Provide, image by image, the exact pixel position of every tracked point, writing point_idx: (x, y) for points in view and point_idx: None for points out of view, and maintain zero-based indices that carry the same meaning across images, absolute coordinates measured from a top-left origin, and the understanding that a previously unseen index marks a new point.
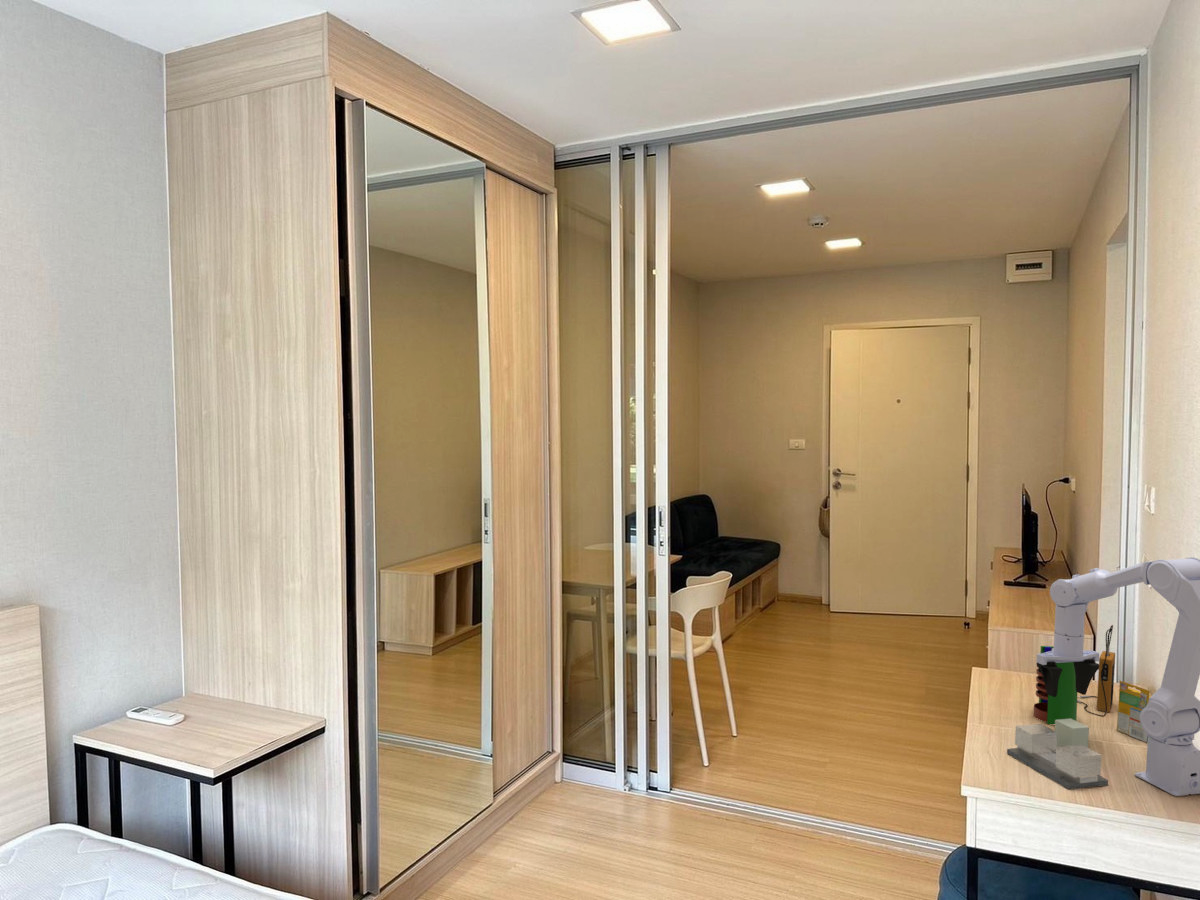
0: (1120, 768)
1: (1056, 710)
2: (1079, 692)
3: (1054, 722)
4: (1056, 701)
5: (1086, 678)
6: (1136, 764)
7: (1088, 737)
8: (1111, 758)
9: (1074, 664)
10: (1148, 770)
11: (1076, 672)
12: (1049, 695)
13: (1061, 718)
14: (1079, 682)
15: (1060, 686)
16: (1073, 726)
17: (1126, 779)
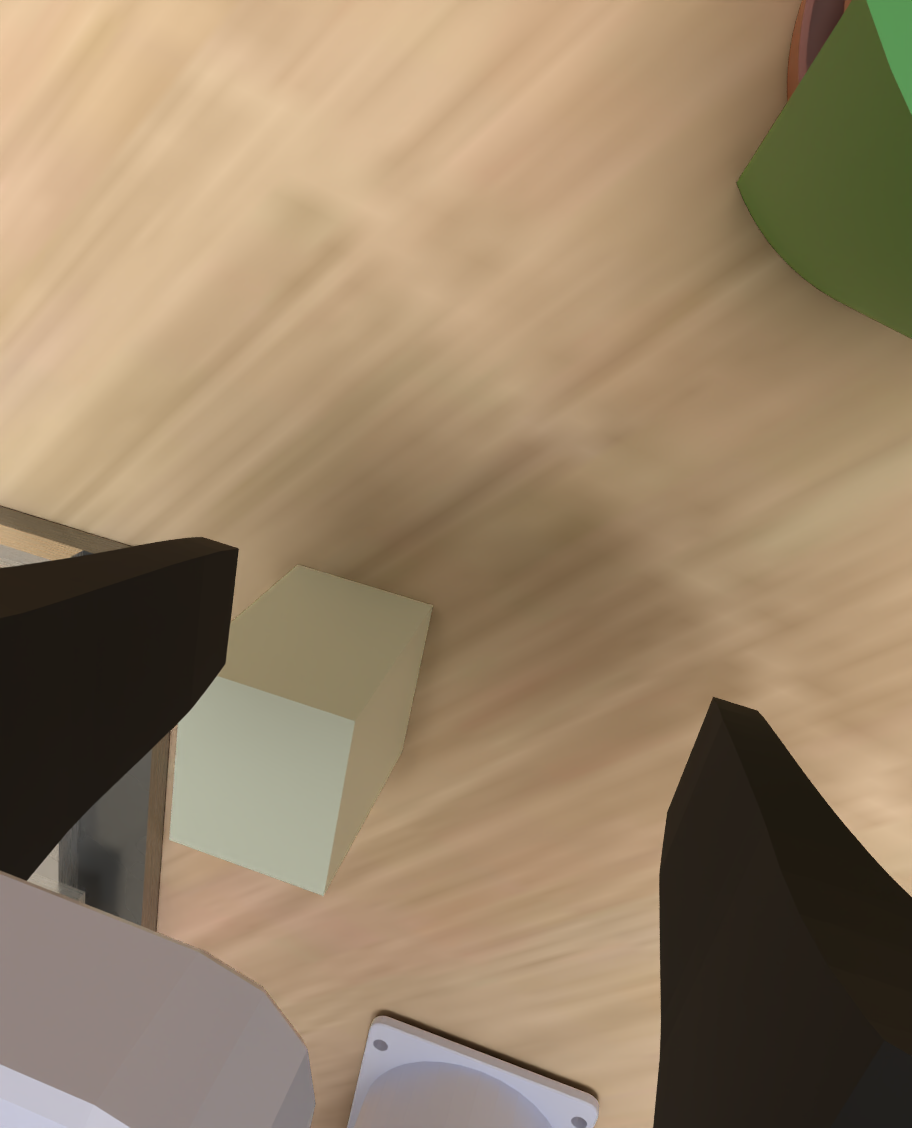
0: (404, 937)
1: (796, 262)
2: (693, 755)
3: (773, 245)
4: (808, 263)
5: (664, 1075)
6: (556, 969)
7: (355, 835)
8: (498, 856)
9: (828, 1000)
10: (360, 1123)
11: (766, 904)
12: (762, 175)
13: (832, 296)
14: (707, 851)
15: (888, 317)
16: (212, 820)
17: (302, 997)
